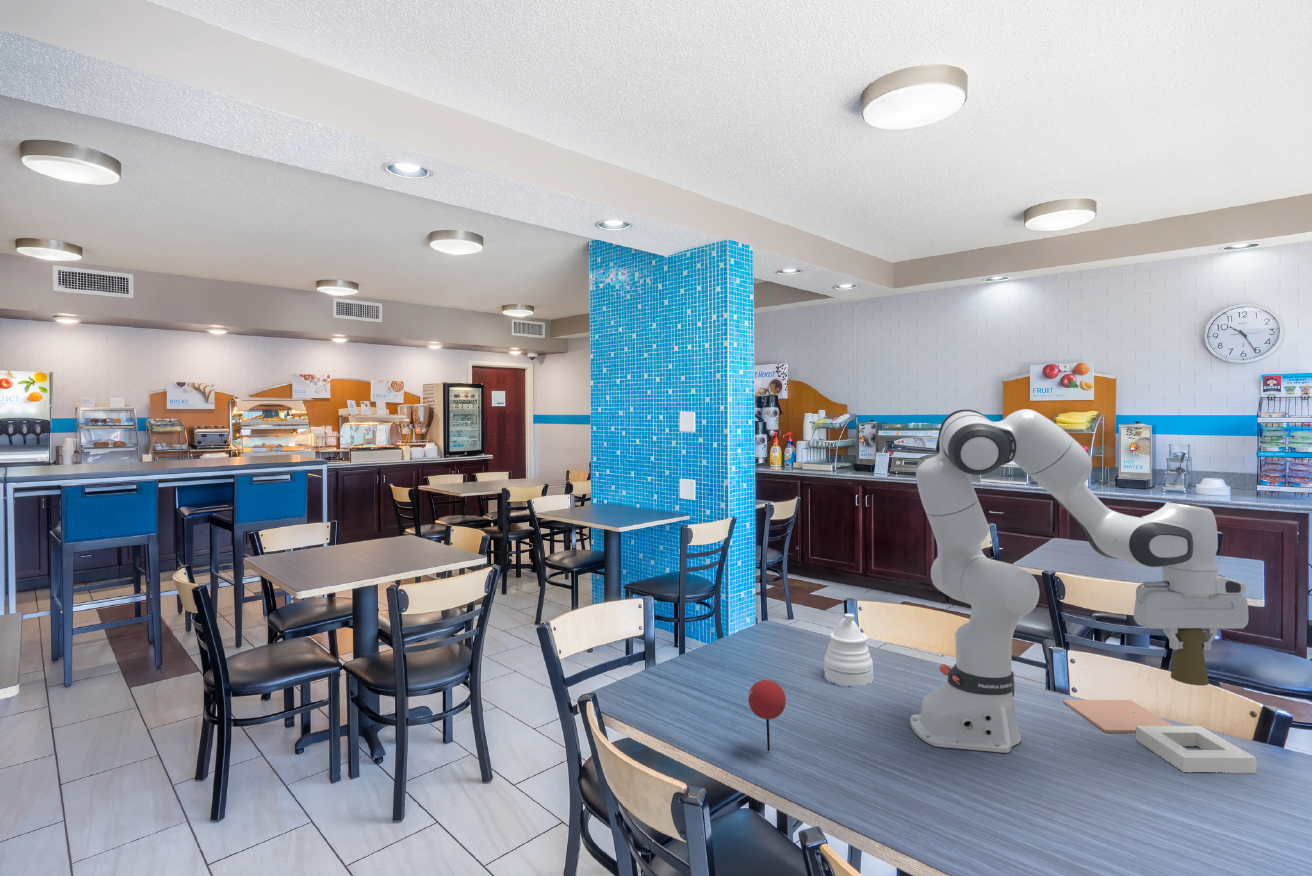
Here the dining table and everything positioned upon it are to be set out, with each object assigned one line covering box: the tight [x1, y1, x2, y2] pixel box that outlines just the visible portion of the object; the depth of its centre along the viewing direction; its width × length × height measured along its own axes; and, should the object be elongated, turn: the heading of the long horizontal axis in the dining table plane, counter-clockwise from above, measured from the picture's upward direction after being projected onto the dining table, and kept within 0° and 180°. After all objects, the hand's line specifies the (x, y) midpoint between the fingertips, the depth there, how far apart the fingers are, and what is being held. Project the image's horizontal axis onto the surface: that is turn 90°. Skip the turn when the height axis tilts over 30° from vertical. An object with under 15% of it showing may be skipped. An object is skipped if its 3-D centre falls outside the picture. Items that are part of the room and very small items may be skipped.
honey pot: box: [823, 613, 874, 685], centre depth 175 cm, size 13×13×18 cm
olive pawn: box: [1170, 628, 1210, 686], centre depth 131 cm, size 6×6×11 cm
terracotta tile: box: [1062, 699, 1174, 734], centre depth 148 cm, size 16×16×1 cm
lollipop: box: [747, 679, 787, 752], centre depth 136 cm, size 8×8×15 cm
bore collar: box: [1135, 725, 1257, 774], centre depth 130 cm, size 13×13×3 cm
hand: (1190, 649), depth 130 cm, fingers closed on olive pawn, 4 cm apart
